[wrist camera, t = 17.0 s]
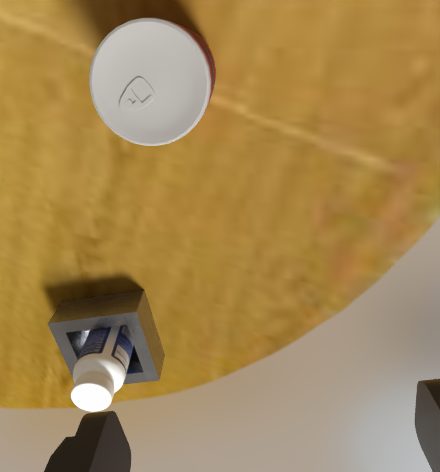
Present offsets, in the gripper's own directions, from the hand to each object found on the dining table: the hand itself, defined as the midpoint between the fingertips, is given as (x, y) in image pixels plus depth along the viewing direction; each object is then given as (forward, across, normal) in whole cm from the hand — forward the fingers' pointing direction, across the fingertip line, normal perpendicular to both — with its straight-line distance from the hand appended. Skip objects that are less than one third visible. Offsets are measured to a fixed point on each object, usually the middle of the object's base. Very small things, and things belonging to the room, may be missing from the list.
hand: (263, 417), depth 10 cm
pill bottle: (+30, +18, +19) cm, 40 cm away
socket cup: (+30, +18, +20) cm, 41 cm away
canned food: (+30, +5, -8) cm, 32 cm away
